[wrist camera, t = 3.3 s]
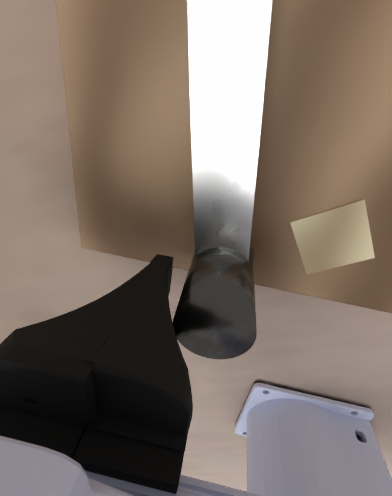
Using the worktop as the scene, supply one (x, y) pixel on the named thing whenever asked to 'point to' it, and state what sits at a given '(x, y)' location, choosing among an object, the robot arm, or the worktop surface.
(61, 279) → the worktop surface
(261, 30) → the press lever
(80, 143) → the board
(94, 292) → the worktop surface
